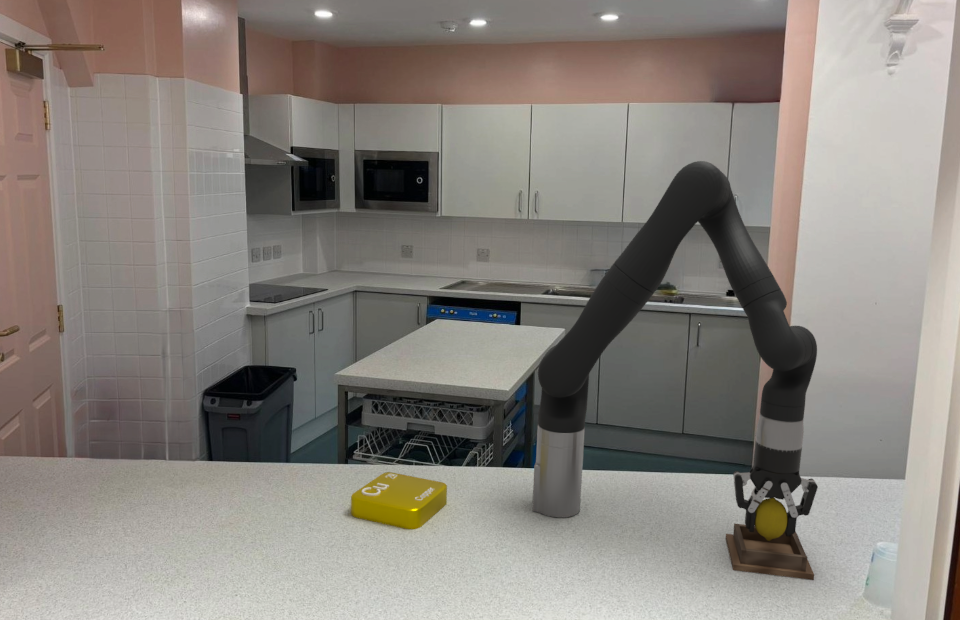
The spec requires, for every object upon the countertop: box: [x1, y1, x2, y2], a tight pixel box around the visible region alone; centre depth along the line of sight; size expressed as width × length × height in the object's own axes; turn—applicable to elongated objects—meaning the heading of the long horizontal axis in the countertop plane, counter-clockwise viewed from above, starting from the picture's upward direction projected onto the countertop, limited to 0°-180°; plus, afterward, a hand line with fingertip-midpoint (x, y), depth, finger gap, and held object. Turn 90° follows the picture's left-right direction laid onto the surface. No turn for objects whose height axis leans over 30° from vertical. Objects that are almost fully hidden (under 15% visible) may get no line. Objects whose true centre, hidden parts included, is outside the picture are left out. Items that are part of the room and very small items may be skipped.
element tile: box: [350, 471, 448, 530], centre depth 152 cm, size 15×15×5 cm
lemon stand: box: [725, 522, 815, 581], centre depth 136 cm, size 13×12×4 cm
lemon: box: [755, 498, 788, 541], centre depth 135 cm, size 6×6×8 cm
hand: (769, 532), depth 136 cm, fingers closed on lemon, 5 cm apart
